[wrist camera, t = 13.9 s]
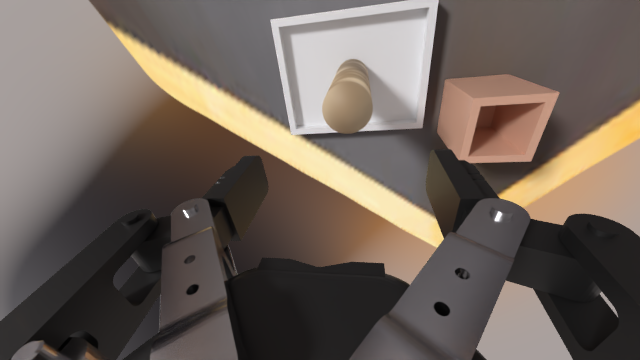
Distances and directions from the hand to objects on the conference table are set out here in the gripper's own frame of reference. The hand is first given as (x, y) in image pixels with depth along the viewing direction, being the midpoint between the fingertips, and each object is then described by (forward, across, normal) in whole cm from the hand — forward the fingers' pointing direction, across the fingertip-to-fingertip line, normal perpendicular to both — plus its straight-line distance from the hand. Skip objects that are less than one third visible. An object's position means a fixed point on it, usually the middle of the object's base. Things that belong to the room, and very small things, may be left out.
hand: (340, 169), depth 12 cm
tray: (+24, 0, 0) cm, 24 cm away
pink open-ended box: (+24, -15, +5) cm, 29 cm away
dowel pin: (+23, 0, 0) cm, 23 cm away
